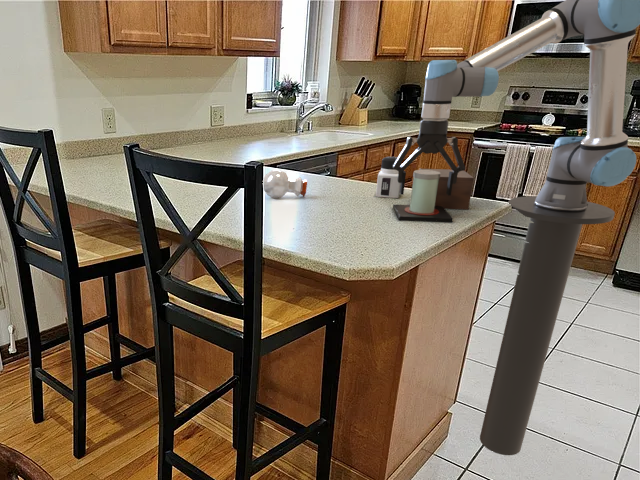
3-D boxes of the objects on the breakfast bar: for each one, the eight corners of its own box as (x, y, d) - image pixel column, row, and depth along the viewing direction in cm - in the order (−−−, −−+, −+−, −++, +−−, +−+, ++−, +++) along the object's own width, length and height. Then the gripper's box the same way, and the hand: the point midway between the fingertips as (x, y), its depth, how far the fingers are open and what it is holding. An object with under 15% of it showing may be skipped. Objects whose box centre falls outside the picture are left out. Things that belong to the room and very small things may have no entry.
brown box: (458, 199, 178) (463, 169, 174) (468, 209, 166) (474, 177, 162) (415, 198, 180) (419, 168, 176) (422, 208, 168) (427, 176, 164)
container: (398, 198, 180) (403, 159, 174) (375, 196, 182) (379, 158, 177) (399, 193, 186) (404, 156, 181) (377, 192, 189) (381, 155, 183)
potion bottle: (259, 200, 183) (301, 205, 184) (262, 189, 173) (307, 194, 174) (261, 175, 185) (303, 180, 186) (265, 163, 175) (309, 168, 176)
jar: (432, 207, 162) (437, 170, 157) (436, 214, 155) (443, 174, 151) (406, 206, 163) (411, 169, 158) (410, 213, 156) (415, 174, 152)
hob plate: (441, 209, 166) (442, 205, 165) (452, 222, 152) (452, 217, 151) (392, 208, 167) (393, 203, 167) (398, 220, 154) (399, 215, 153)
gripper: (477, 118, 150) (465, 192, 159) (388, 118, 154) (381, 190, 162) (484, 120, 143) (471, 197, 152) (391, 120, 147) (383, 195, 155)
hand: (424, 194), depth 157 cm, fingers open, 13 cm apart
